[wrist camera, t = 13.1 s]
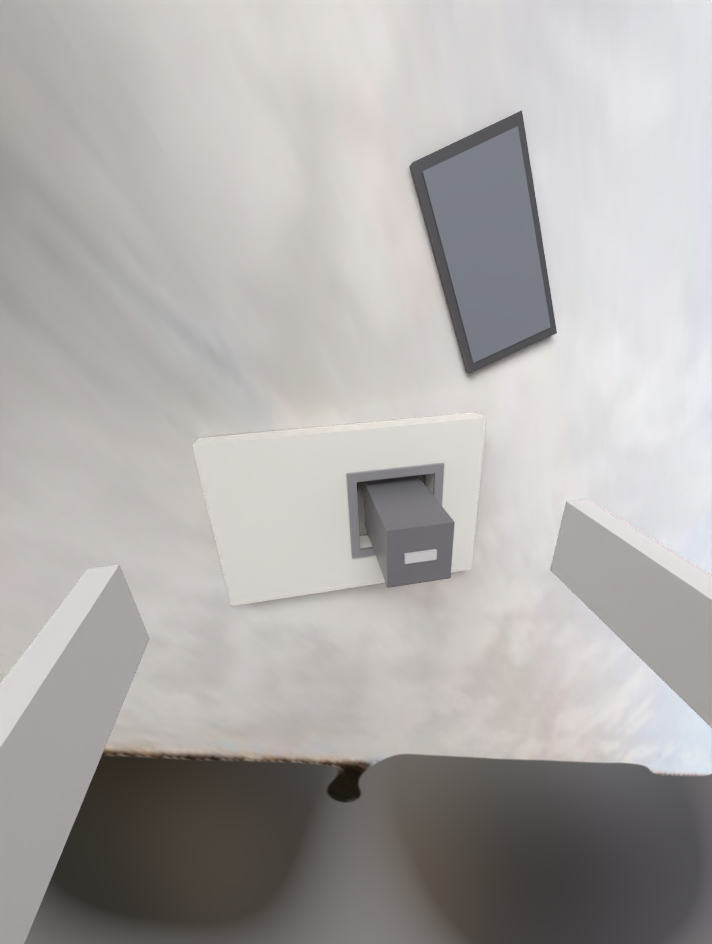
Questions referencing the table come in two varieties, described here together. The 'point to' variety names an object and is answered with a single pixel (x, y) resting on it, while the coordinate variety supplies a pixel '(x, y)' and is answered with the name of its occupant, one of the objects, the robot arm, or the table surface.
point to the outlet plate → (328, 498)
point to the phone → (487, 241)
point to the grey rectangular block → (408, 531)
